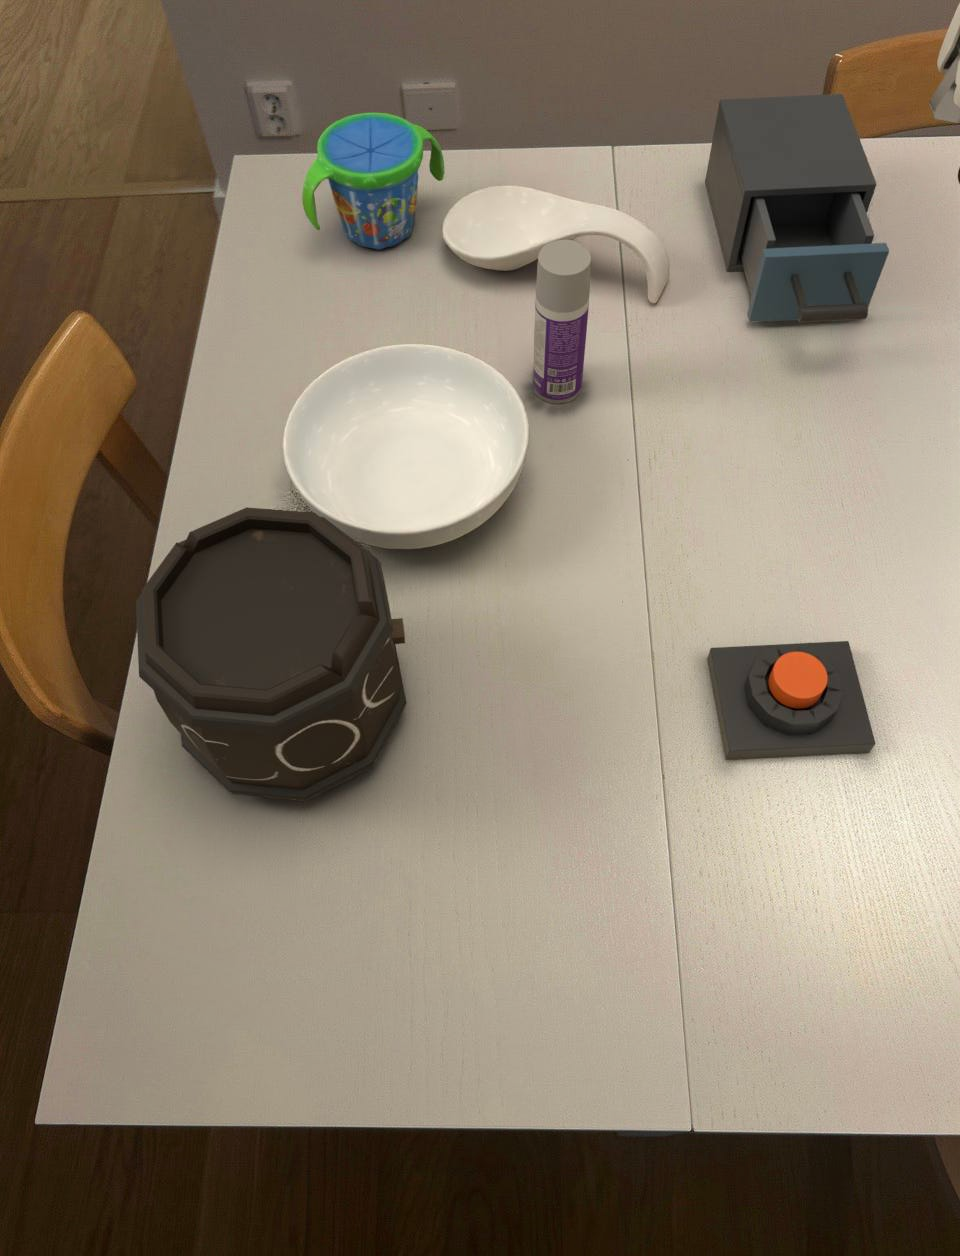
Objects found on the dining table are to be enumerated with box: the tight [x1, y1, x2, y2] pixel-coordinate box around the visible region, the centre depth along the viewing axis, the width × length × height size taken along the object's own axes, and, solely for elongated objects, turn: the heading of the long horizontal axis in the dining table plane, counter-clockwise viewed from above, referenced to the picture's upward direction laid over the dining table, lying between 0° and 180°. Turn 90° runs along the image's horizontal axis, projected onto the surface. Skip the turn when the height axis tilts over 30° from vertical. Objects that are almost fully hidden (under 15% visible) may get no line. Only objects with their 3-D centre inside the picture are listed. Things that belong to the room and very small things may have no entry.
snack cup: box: [301, 112, 446, 251], centre depth 109 cm, size 16×10×10 cm
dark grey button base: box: [706, 640, 876, 761], centre depth 82 cm, size 11×9×4 cm
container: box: [532, 239, 592, 405], centre depth 95 cm, size 5×5×15 cm
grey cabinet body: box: [704, 93, 877, 272], centre depth 109 cm, size 15×13×10 cm
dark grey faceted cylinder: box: [135, 507, 407, 802], centre depth 77 cm, size 18×18×16 cm
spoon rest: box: [441, 185, 671, 304], centre depth 107 cm, size 24×12×7 cm, turn 69°
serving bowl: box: [282, 343, 530, 550], centre depth 92 cm, size 21×21×7 cm
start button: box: [769, 652, 828, 709], centre depth 80 cm, size 4×4×2 cm
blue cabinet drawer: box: [739, 192, 890, 323], centre depth 103 cm, size 19×11×8 cm, turn 3°
